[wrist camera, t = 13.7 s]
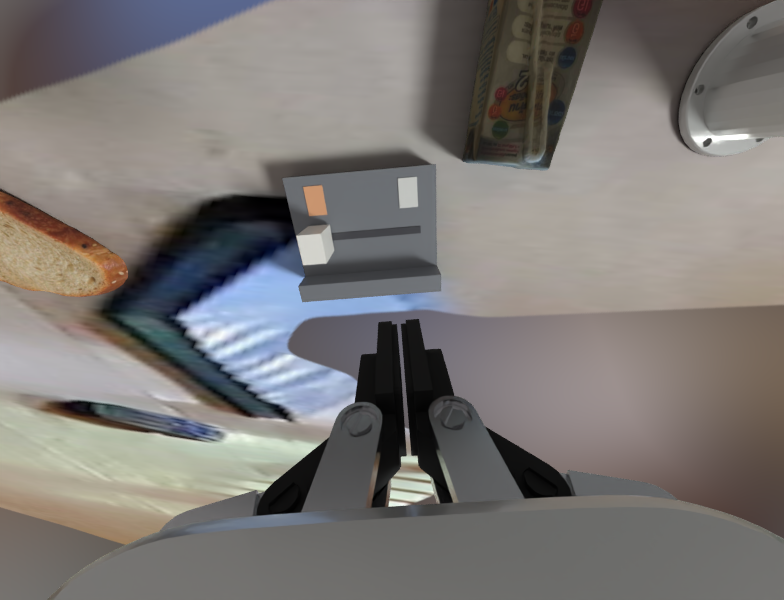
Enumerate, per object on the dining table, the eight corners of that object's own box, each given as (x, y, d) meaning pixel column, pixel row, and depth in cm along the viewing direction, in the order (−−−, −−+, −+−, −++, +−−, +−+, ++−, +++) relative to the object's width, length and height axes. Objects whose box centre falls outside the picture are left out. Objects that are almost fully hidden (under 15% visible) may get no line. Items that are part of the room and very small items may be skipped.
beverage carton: (456, 163, 31) (472, 163, 25) (500, -94, 23) (539, -184, 17) (524, 170, 32) (556, 171, 26) (592, -81, 23) (662, -164, 17)
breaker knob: (329, 224, 31) (320, 233, 26) (334, 250, 32) (326, 263, 28) (308, 226, 31) (296, 235, 27) (313, 252, 32) (303, 265, 28)
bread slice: (142, 282, 37) (118, 293, 34) (31, 313, 39) (-3, 327, 36) (33, 132, 30) (-12, 128, 26) (-99, 180, 31) (-158, 182, 28)
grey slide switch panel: (431, 164, 31) (440, 164, 26) (433, 272, 37) (441, 291, 31) (291, 176, 31) (271, 179, 26) (314, 281, 37) (302, 302, 32)
